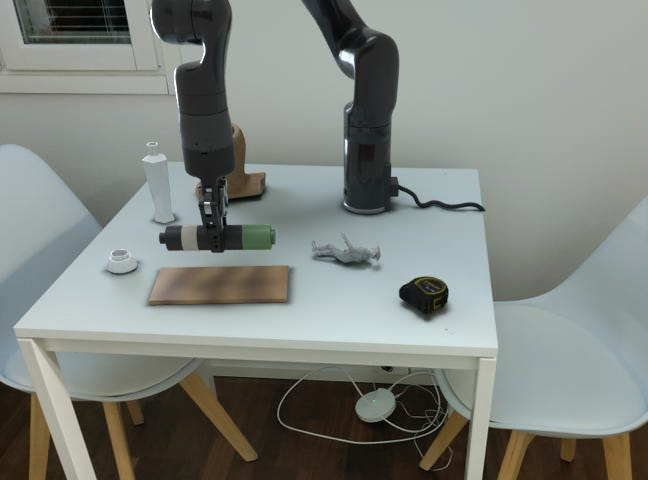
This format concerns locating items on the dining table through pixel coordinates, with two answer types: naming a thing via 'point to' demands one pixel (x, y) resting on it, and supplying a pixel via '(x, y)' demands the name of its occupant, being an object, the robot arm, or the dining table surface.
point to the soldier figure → (347, 251)
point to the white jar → (121, 261)
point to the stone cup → (241, 171)
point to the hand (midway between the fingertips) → (219, 244)
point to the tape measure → (425, 294)
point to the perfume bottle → (158, 183)
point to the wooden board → (220, 285)
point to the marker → (233, 237)
